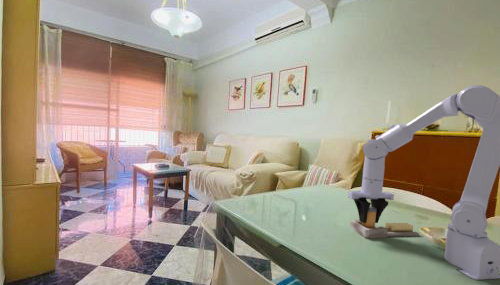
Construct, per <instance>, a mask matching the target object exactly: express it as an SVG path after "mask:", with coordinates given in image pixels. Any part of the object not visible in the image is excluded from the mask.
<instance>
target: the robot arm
mask: <svg viewBox="0 0 500 285" xmlns="http://www.w3.org/2000/svg"><path fill="white" fill-rule="evenodd" d="M459 112H460V113H461V114H462V115H464V116H466V117H468V118H471V119H473V120H474V122H476V123H477V125H479V127H480V128H482V132H481V136H480V138H479V141H478V146H477V147H476V151H475V155H474V158H473V160H472V163H471V167H470V170H469V173H468V175H467V180H466V182H465V185H464V189H463V191H462V194H461V197H460V200H458V202H456V203H455V204H454V205H453V206H452V209H451V210H452V211H451V215H450V221H451V222H450V223H447V229H446V230H447V231H446V239H445V248H444V256H443V257H444V259H445V260H446V261H447V262H448V263H450V264H452V265H453V266H455V267H458V268H455V270H456V271H458V272H460V273H462V274H464V275H465V276H467V277H469V278H470V279H473V280H475V281H476V280H477V281H479V280H492V279H493V280H494V279H500V244H499V243H498V242H495V241H494V240H492V239H490V238H489V237H488V232H487V231H486V230H487V227H488V220H487V216H486V213H487V209H488V204H489V200H490V195H491V192H492V189H493V186H494V183H495V181H496V178H497V174H498V172H499V169H500V94H498V93H497V92H495V90H492V89H491V88H489V86H485V85H483V84H482V85H481V84H474V85H470V86H467V87H465V88H464V89H462V90H461V91H460V92H459V93H458V92H456V93H454V94H451V95H450V96H448V97H447V98H445V99H443V100H441V101H439V102H438V103H436V104H435V105H433V106H432V107H430V108H429V109H428V110H426V111H424V112H423V113H421V114H420V115H419V116H417V117H415V118H414V119H412V120H411V121H410V122H408V123H406V124H403V123H397V124H396V125H395V124H392V125H391V126H389V129H388V130H386V131H385V132H383V133H382V134H380V135H379V134H377V135H376V136H375V139H374V138H372V139H368V140H367V141H366V143H364V144H363V148H362V153H363V155H364V162H363V168H362V178H361V179H362V180H361V189H360V190H354V191H351V190H350V191H348V194H347V198H349V199H350V200H353V202H354V203H355V206H356V209H357V212H358V220H360V221H361V222H363V223H366V220H367V213H368V209H369V207H370V206H372V207H375V208H376V209H377V211H376V220H375V224H378V223H379V220H380V218H381V216H382V214H383V211H384V210H385V209H386V208H387V207H388V206H389V201H387V200H390V201H394V196H395V195H394V194H395V193H393V192H386V191H383V187H384V179H385V178H384V176H385V168H386V166H385V161H386V157H387V155H388V154H389V152H394V151H396V150H398V149H400V147H403V146H404V145H406V144H408V143H409V142H411V141H412V140H413V139H414V134H416V133H417V132H419V131H421V130H423V129H425V128H426V127H428V126H430V125H432V124H434V123H436V122H437V121H439V120H441V119H443V118H447V117H449V118H450V117H458V116H459ZM368 200H370V201H368Z"/></svg>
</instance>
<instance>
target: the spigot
mask: <svg viewBox="0 0 500 285" xmlns="http://www.w3.org/2000/svg"><path fill="white" fill-rule="evenodd" d="M376 211H377V209H376V208H375V207H372V206H371V205H370V207H369V209H368V213H367V220H366V223H363V222H362V226H364V227H366V228H375V227H376V223H375V220H376Z"/></svg>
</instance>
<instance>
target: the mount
mask: <svg viewBox="0 0 500 285" xmlns="http://www.w3.org/2000/svg"><path fill="white" fill-rule="evenodd" d="M349 228H350V230H352V231H353V232H355V233H357V234H358V235H360V236H361V237H363V238H364V239H387V238H388V239H390V238H391V239H393V238H395V239H397V237H399V238H406V239H407V238H419V237H420V238H423V235H420V233H419V232H418V231H413V232H387V231H388V230H387V229H386V228H385V226H375V228H366V227H364V226H362V222H361V221H360V220H359V219H351V220H350V221H349Z"/></svg>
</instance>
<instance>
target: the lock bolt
mask: <svg viewBox="0 0 500 285" xmlns="http://www.w3.org/2000/svg"><path fill="white" fill-rule="evenodd" d="M384 225H385V226H384V227H385V228H386V229H387V230H388V231H387V232H414V225H413V224H410V223H408V222H385V224H384Z"/></svg>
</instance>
